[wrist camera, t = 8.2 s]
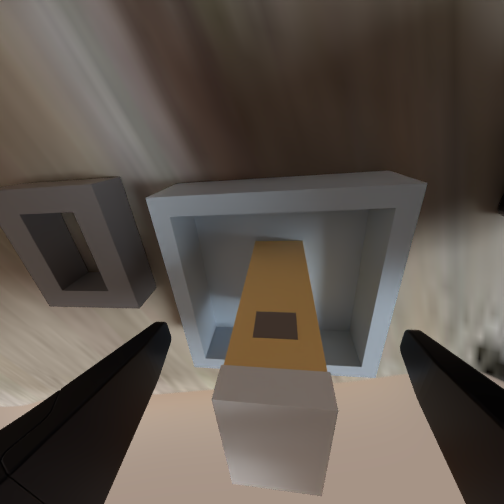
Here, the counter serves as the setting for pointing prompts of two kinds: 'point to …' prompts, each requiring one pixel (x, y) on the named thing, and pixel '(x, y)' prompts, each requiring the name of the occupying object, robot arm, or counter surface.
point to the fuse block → (63, 247)
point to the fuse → (276, 379)
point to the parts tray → (315, 246)
